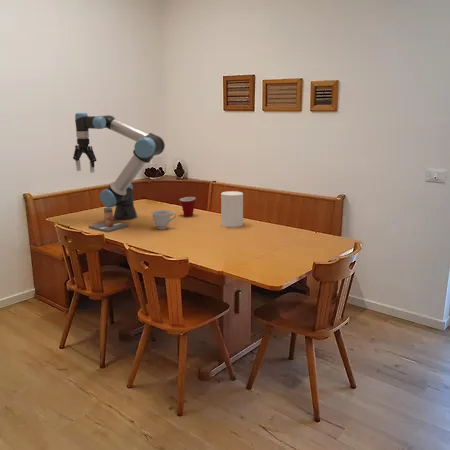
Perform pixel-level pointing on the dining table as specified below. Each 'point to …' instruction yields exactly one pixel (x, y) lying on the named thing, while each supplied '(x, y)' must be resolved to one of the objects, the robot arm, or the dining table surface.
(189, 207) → the plastic cup
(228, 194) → the canister
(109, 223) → the spice shaker
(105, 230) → the board
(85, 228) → the dining table surface
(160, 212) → the teacup
